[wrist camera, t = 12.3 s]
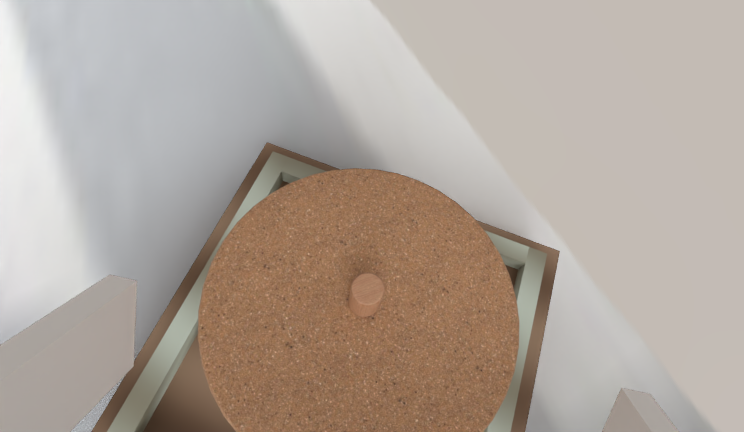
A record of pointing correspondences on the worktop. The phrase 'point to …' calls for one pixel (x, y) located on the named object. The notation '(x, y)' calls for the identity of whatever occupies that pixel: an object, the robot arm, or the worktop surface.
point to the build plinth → (180, 319)
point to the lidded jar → (358, 311)
